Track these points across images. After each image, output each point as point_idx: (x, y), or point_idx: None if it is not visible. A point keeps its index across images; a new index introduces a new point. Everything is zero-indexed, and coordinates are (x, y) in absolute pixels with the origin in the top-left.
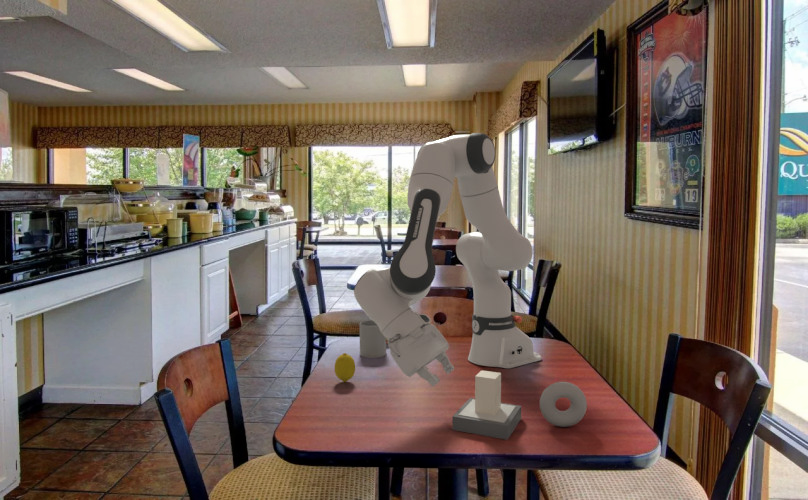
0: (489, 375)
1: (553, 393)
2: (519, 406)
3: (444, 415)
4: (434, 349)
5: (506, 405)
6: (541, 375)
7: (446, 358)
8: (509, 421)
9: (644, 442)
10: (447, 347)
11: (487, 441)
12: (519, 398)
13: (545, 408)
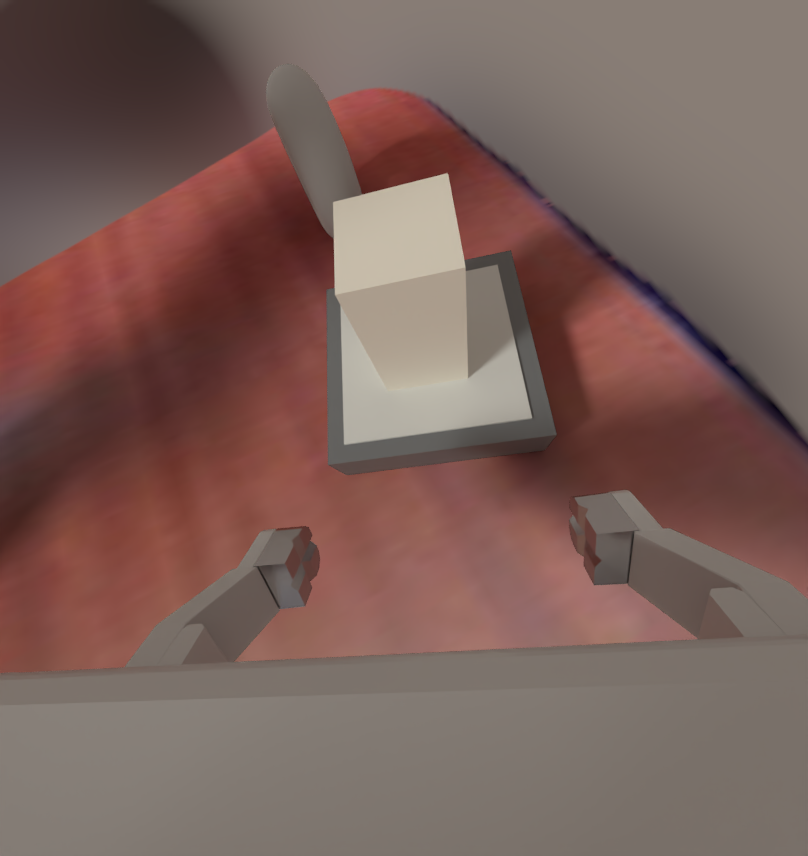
0: (405, 220)
1: (336, 123)
2: (333, 291)
3: (437, 540)
4: (288, 760)
5: (348, 321)
6: None
7: (209, 609)
8: (473, 261)
9: (351, 102)
10: (18, 676)
11: (553, 321)
12: (188, 384)
13: (361, 194)
